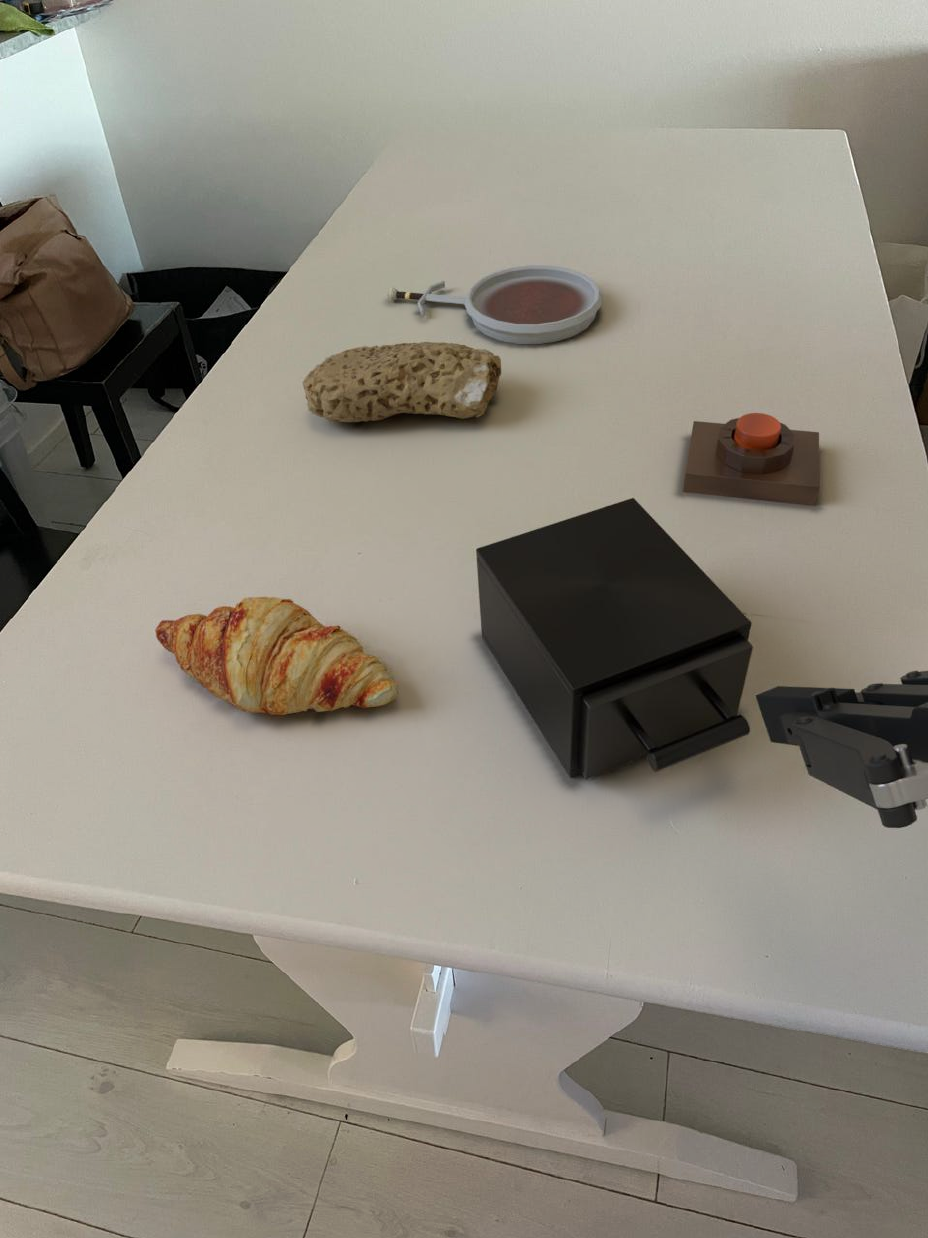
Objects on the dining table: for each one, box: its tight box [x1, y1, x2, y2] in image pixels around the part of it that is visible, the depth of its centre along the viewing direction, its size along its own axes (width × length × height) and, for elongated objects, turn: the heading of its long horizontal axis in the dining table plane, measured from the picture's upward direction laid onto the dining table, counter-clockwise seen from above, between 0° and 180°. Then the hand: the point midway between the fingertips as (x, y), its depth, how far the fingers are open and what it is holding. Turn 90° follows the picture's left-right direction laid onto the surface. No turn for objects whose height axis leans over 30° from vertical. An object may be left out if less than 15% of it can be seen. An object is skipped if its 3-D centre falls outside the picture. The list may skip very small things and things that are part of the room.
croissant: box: [154, 596, 399, 716], centre depth 73 cm, size 21×10×8 cm, turn 71°
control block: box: [682, 417, 820, 507], centre depth 89 cm, size 12×9×4 cm
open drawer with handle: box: [578, 635, 754, 780], centre depth 67 cm, size 19×12×8 cm, turn 23°
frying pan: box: [386, 264, 603, 345], centre depth 116 cm, size 17×3×28 cm
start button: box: [734, 412, 781, 451], centre depth 87 cm, size 4×4×2 cm
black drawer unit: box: [475, 497, 752, 778], centre depth 69 cm, size 16×14×10 cm
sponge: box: [302, 341, 502, 423], centre depth 99 cm, size 13×8×20 cm
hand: (774, 714), depth 51 cm, fingers closed
